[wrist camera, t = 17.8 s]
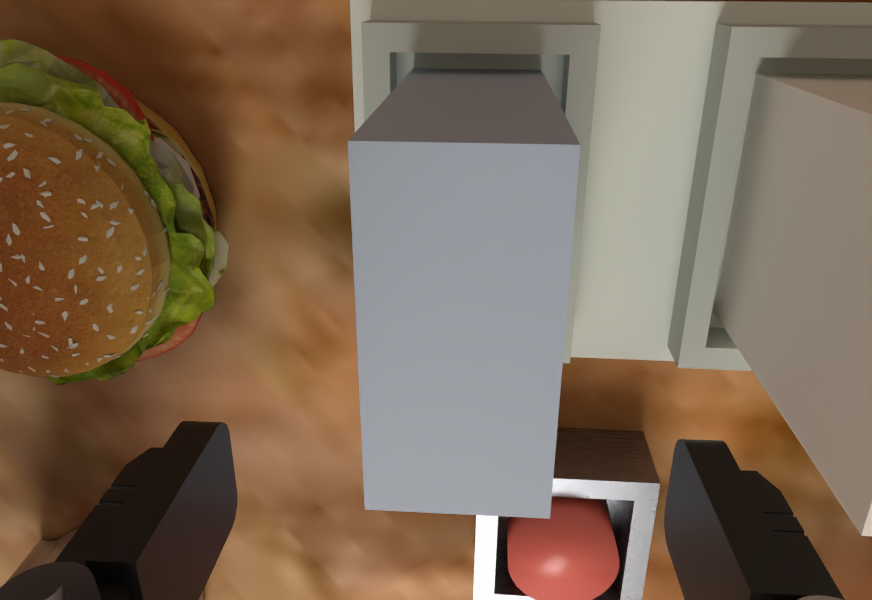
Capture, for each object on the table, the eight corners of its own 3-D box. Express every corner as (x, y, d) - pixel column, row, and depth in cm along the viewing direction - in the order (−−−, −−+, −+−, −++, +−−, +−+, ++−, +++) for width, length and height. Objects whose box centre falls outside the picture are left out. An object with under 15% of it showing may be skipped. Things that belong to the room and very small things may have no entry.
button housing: (474, 549, 39) (472, 608, 36) (479, 424, 36) (477, 474, 33) (625, 558, 39) (638, 618, 35) (643, 431, 36) (660, 483, 32)
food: (139, -20, 29) (20, -19, 22) (290, 287, 34) (234, 371, 27) (-128, 103, 32) (-311, 140, 25) (47, 370, 37) (-62, 466, 30)
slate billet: (415, 301, 33) (364, 509, 20) (412, 68, 29) (347, 140, 16) (527, 305, 32) (549, 518, 20) (541, 69, 28) (580, 145, 16)
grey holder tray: (366, 339, 35) (355, 369, 32) (354, -3, 29) (339, -1, 26) (866, 358, 33) (900, 392, 31) (965, 3, 27) (1018, 6, 24)
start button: (504, 541, 38) (505, 602, 34) (508, 462, 36) (510, 517, 32) (601, 547, 38) (613, 608, 34) (611, 467, 36) (625, 523, 32)
